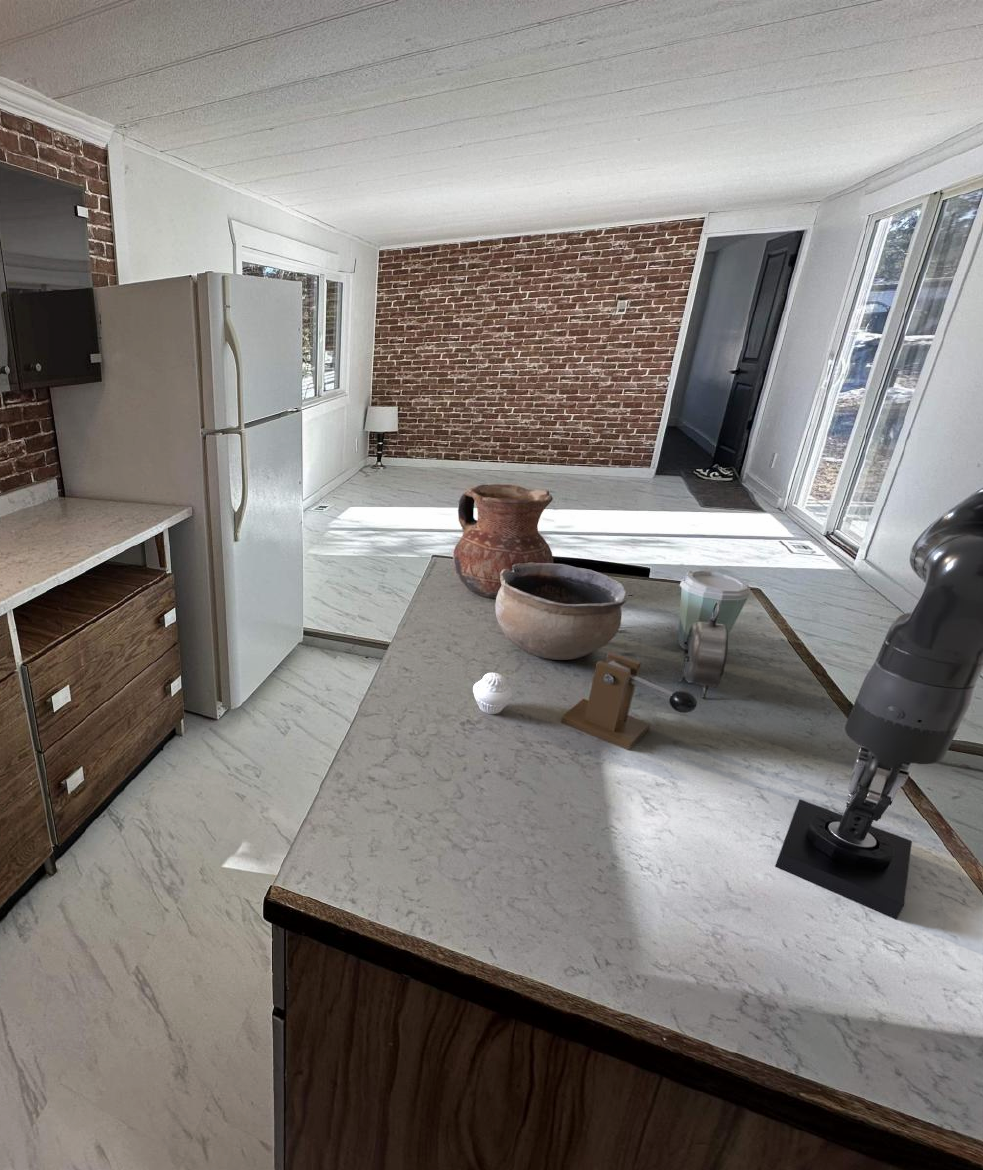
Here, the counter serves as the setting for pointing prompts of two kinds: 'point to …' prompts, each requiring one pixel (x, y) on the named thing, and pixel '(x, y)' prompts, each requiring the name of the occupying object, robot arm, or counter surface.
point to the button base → (846, 861)
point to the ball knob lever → (663, 692)
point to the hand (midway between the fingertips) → (850, 833)
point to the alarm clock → (706, 653)
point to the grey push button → (864, 844)
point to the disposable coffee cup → (710, 599)
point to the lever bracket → (609, 705)
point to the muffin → (492, 693)
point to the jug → (499, 534)
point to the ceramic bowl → (558, 609)
